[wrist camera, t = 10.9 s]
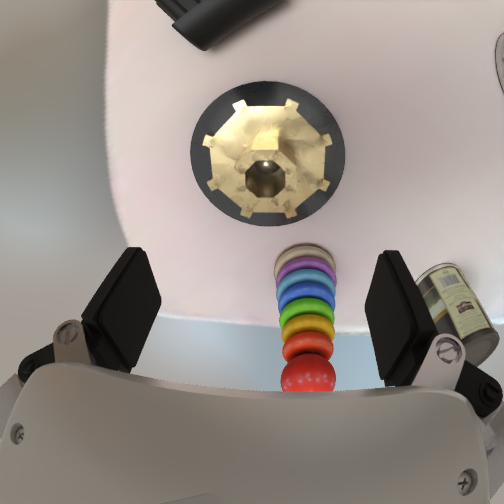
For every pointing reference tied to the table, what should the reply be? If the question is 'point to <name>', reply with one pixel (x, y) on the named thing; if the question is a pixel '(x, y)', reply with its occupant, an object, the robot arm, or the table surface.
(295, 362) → the stacking toy
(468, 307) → the coffee can
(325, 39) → the table surface
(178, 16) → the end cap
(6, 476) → the robot arm
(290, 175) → the tan faceted octagonal piece
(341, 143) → the plate
